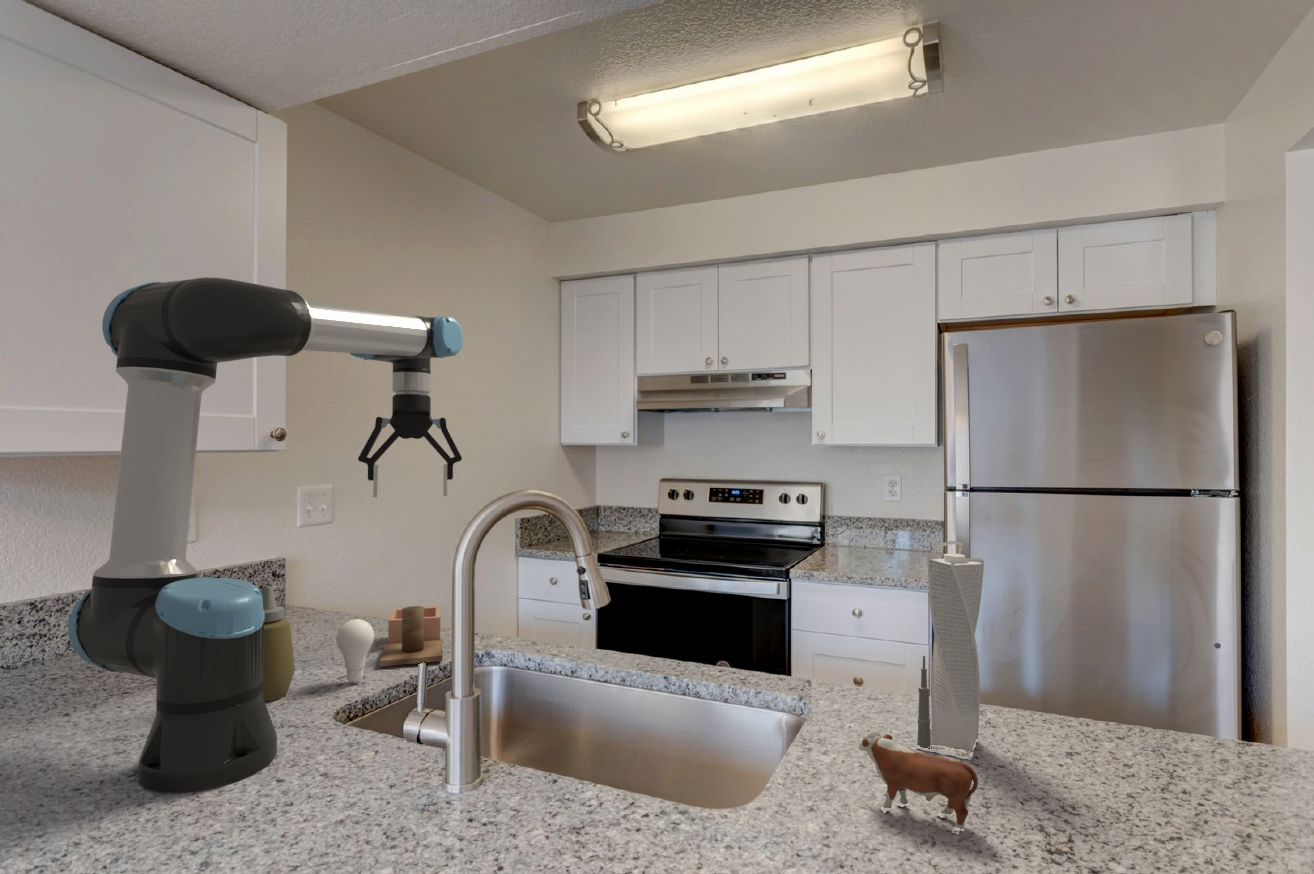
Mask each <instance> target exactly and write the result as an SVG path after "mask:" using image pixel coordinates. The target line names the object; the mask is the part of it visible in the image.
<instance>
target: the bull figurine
mask: <svg viewBox="0 0 1314 874" xmlns="http://www.w3.org/2000/svg"><path fill="white" fill-rule="evenodd" d="M858 747H859V750H861V751H862V752H866V753H867V754H868V756H869V758H870V760H871V761H872V762H873V763H874V764H875V765H874V766H875V769H876V771H877V774H878V777H879V778H881V780H882V782H883V783H884V784H885V785H886V789H887V791H886V792H885V798H886V799H885V801H884V803H883V805H882V806H883V807H884V808H892V809H893V807H892V803H893V801H894V799H896V795H897V793H899V795H900V799H899V801H900V802H901V803H902V804H907V803H908V802H909V800H908V799H907V793H906V792H907V790H908V791H910V792H912V793H914V794H917V795H919V796H923V797H924V798H925V800H926V802H927V801H928V802H931V801H932V800H933V799H934V798H935V796H938V795H940V796H943V797H945V798H946V799H947V803H946V805H945V807H944V808H943V809H941V810H940V811H941V813H945V814H949V815H950V814H952V815H953V814H954V813H955V817H956V819H955V820H956V821H955V823H954V825H955V826H956V827H957V828H960V829H964V830H965V822H966V819H967V816H968V815H969V810H968V807H969V805H970V801H971V797H972V795H973V793H975V791H976V790H977V788H978V785H979V780H978V775H977V773H976V772H975V770H974V769H973V768H972V767H971V765H970V764H967V763H965V762H961V761H957V760H952V759H951V760H950V759H949V758H944V757H941V756H940V757H939V756H935V755H930V754H925V753H923V752H919V751H916V750H914V749H912V748H909V747H907V746H904V745H900V744H898V743H896V742H895V741H893V736H892V735H890V734H884V735H883V736H882V735H881V733H880V732H879V731H878V730H877V729H873V730H870V731H869V732H867V733H866V734H865V735H863V739H862V740H861V742H860V743H859V746H858ZM972 783H973V784H972ZM953 812H954V813H953Z"/></svg>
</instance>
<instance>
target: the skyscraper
mask: <svg viewBox="0 0 1314 874" xmlns="http://www.w3.org/2000/svg"><path fill="white" fill-rule="evenodd" d="M949 545H959V547H958V551H957V553H944V554H943V558H932V557H933V555H934V554H935V553H936V551H937V550H939V549H940V548H942V547H943V548H944V547H945V546H949ZM963 548H964V543H963V542H962V541H959V540H951V541H950V540H949V541H944V542H942V543H939V544H937V545H935V547H934V548H933V549H932V550H931V552H930V553H929V554H928V557H927V559H926V561H927V577H928V578H927V580H928V593H929V604H930V605H929V606H930V608H929V609H930V615H931V623H932V629H933V634H934V635H933V636H934V638H933V647H932V658H931V659H932V660H931V680H930V681H931V683H930V684H931V685H930V686H931V688H930V687H929V686H928V676H927V674H928V672H927V671H928V668H926V656H925V655H922V667H920V671H921V672H920V673H921V675H920V679H921V681H920V685H919V686H918V688H917V689H918V716H917V720H916V721H917V740H916V741H917V743H916V745H919V746H920V747H923V748H928V747H929V748H928V749H930V745H940V746H941V745H942V746H946V747H950V748H954V749H963V750H966V751H970V752H973V751H972V749H973V746H974V744H975V741H976V739H978V740H979V727H980V726H979V723H980V709H981V708H980V704H981V703H980V701H981V698H980V697H981V690H980V689H981V687H980V685H981V684H980V666H979V665H980V664H979V657H978V656H979V655H978V647H977V641H976V635H975V634H976V629H977V625H978V620H979V615H980V610H981V609H980V608H981V601H982V593H983V592H982V591H983V583H984V580H983V579H984V569H985V567H984V566H985V561H984V559H982V558H980V557H978V558H977V557H969V558H967V557H966V555H965V554H962V551H963ZM930 691H931V693H930ZM930 695H931V697H930ZM930 700H931V702H930ZM930 704H931V706H930ZM930 707H931V708H930ZM930 709H931V715H930ZM930 716H931V717H930ZM931 740H932V741H931ZM931 749H932V746H931ZM933 749H934V747H933ZM936 749H939V748H936ZM940 749H941V748H940Z"/></svg>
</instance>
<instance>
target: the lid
mask: <svg viewBox="0 0 1314 874" xmlns="http://www.w3.org/2000/svg"><path fill="white" fill-rule="evenodd" d="M401 609H402V643H395V644H388V643H386V644H384V646H383V649H382V651H381V656H380V658H379V667H386V666H387V667H388V666H398V665H411V664H421V663H420V662H425V663H431V662H432V663H435V662H437V663H438V662H443V650H444V649H443V643H444V641H443V639H441V640H435V641H424V606H422V605H421V606H420V605H417V606H416V605H415V606H413V605H412V606H407V607H404V608H401Z"/></svg>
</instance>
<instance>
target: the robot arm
mask: <svg viewBox="0 0 1314 874" xmlns="http://www.w3.org/2000/svg"><path fill="white" fill-rule="evenodd" d="M101 323H102V325H101V328H102V335H103V338H104V341H105V344H107V345H108V346H109V347H110V348H111V352H112V353H113V354H114V355H115V356H116V367H115V372H116V374H117V375H119V376H120V378H121V379H123V381H125V383H126V385H127V393H126V402H125V403H126V404H125V413H124V420H123V421H124V422H123V430H122V438H121V439H122V441H121V448H120V457H119V458H120V459H119V466H118V473H117V474H118V476H117V477H118V478H117V483H116V484H117V486H116V492H115V504H114V512H113V521H112V531H111V540H110V548H109V558H108V560H107V561H106V562H105V563H104V564H102V565H101V566H99V568H97V569H96V570H94V572H93V574H92V582H91V589H89V590H88V591H86V592H85V593H84V594H83V597H82V598H81V599H80V600H77V601H76V603H75V605H74V606H73V608H72V610H71V612H70V615H69V618H68V622H67V635H68V639H69V640H68V641H69V642H70V645H71V647H72V649H73V650H74V652H75V653H76V654H77V656H79V657H80V658H81V659H82V660H83V661H85V662H87V663H89V664H91V665H93V666H96V667H98V668H100V669H102V670H105V671H108V672H112V673H120V674H122V673H125V674H131V675H136V676H142V677H148V678H154V679H156V681H155V682H156V684H155V685H156V689H155V690H156V691H155V692H156V693H155V694H156V698H155V700H156V703H155V704H156V705H155V707H156V708H155V709H156V710H155V716H154V720H153V722H152V725H151V728H150V730H149V733H148V735H147V739H146V741H145V743H144V746H143V748H142V751H141V753H140V754H141V755H140V756H139V757H140V758H139V759H138V763H137V764H138V767H137V769H138V770H137V783H138V784H139V786H140V787H142V788H143V789H145V790H148V791H152V792H156V793H169V794H170V793H188V792H195V791H200V790H201V791H202V790H207V789H211V788H215V787H219V786H223V785H227V784H230V783H232V782H236V781H238V780H239V781H240V780H241V779H243V778H246V777H248V776H250V775H252V774H254V773H256V772H259V771H260V770H261V769H264V768H265V767H266V766H268V765H269V764H270V763H271V762H272V761H273V760H274V759H275V757H276V756H277V753H278V735H277V731H276V728H275V726H274V723H273V721H272V717H271V716H270V713H269V710H268V708H267V707H268V706H267V705H266V701H264V699H263V692H262V686H263V644H264V618H265V613H264V610H263V600H262V594H263V593H262V592H261V590H260V589H259V587H257V586H256V585H255V584H253V583H251V582H249V581H246V580H242V579H238V578H237V579H236V578H231V577H220V578H218V577H217V578H216V577H210V576H209V577H197V573H198V570H197V569H196V568H195V566H193V565H192V564H191V563H190V562H189V561H188V559H187V549H188V537H189V527H190V526H189V525H190V519H191V518H190V517H191V505H192V496H193V485H194V475H195V467H196V466H195V465H196V455H197V447H198V434H199V424H200V414H201V404H202V395H203V392H204V391H205V390H207V389H208V388H210V387H211V386H212V385H214V384H216V379H217V369H218V364H219V363H227V362H233V361H234V362H235V361H240V360H245V359H253V358H262V357H264V358H265V357H275V356H278V357H279V356H282V357H292V356H296V355H298V354H299V353H302V351H310V352H312V351H314V352H329V353H343V354H344V353H346V354H350V355H351V356H353V357H355V358H360V359H363V360H365V361H367V360H371V361H379V362H384V363H391V364H392V392H393V393H395V394H393V396H392V399H391V401H392V405H391V407H392V409H391V412H392V413H391V414H392V415H391V417H390V418H386V417H382V416H377V417H376V418H375V423H374V428H373V430H372V432H371V434H370V435H369V437H368V439H367V441H366V443H365V444H364V445H363V446H364V447H363V448H362V451H361V452H360V454H359V455H358V457H357V458H358V459H357V460H358V461H359V462H360V463H364V464H366V465H367V479H368V481H373V491H372V492H373V496H372V497H373V498H379V496H380V495H379V494H380V493H379V491H380V489H379V487H380V485H379V484H380V483H379V482H380V481H379V480H380V479H379V478H380V475H379V474H380V472H379V471H380V464H376V462H378V460H380V458H381V457H382V455H384V454H385V452H387V450H388V449H389V448H390V447H391V446H392V445H393V444H394V443H395V442H396V441H397V440H398V438H401V439H403V440H408V439H416V440H419V439H422V438H425V440H426V441H427V442H428V443H429V444H430V446H431V447H433V449H435V451H436V452H437V453H438V455H440V457H442V459H443V460H444V461H445V462H446V464H443V474H442V475H443V481H442V482H443V484H442V485H443V487H442V488H443V489H442V490H443V491H442V492H443V497H447V496H448V481H449V480H450V481H452V480H453V478H454V464H456V463H458V462H460V461H462V459H463V457H462V455H461V454H460V451H459V450H458V448H457V446H456V443H455V442H454V440H453V438H452V436H451V434H450V432H449V430H448V427H447V419H446V418H445V417H441V418H433V419H432V415H431V413H432V412H431V405H432V403H431V399H432V398H431V396H430V395H429V394H430V393H431V391H432V390H431V389H432V387H431V385H432V384H431V383H432V379H431V378H432V374H431V371H432V370H431V359H437V358H440V359H444V358H448V357H450V358H451V357H455V356H456V355H458V354H459V352H460V351H461V349H462V348H463V343H464V337H463V335H464V333H463V330H462V327H461V325H460V323H459V322H458V320H456V319H455V318H453V317H452V316H440V315H437V316H431V317H429V316H428V317H427V316H419V315H413V314H407V313H401V312H400V313H399V312H395V311H394V312H392V311H386V310H380V309H379V310H378V309H371V308H365V307H359V306H358V307H357V306H352V305H351V306H350V305H345V304H338V303H337V304H336V303H331V302H324V301H317V300H311V299H309V300H308V299H305V298H304V297H303V296H302V295H301V294H300V293H299V292H297V291H294V290H291V289H284V288H279V287H272V286H267V285H263V284H257V283H253V282H248V281H241V280H236V279H229V278H222V277H205V276H204V277H198V278H196V277H195V278H192V279H191V278H190V279H182V280H175V281H174V280H173V281H166V282H163V281H155V282H154V281H152V282H146V283H145V284H140V285H137V286H135V287H130V288H128V289H126V290H124V291H123V292H121V293H119V294H117V295H116V296H115V297H114V298H113V299H112V300H111V301H110V302H109V304H108V305H107V307H106V308H105V312H104V314H103V317H102V322H101ZM388 425H390V426H391V427H392V429H393V430H394V431H393V432H392V434H391V435H390V436H389V437H388V438H387V439H386V440H385V441H384V442H383V444H382V445H380V447H379V448H378V449H377V450H376V451H375V452H374V453H373V455H372V456H371V457H368V456H369V454H370V452H371V451H372V449H373V447H374V445H375V443H376V442H377V439H378V437H380V434H381V432H382V429H385V428H386V427H387V426H388ZM433 425H435V426H436V428H437V429H440V431H441V434H442V435H443V436H444V438H445V440H446V443H447V445H448V446H449V449H450V450H451V452H452V454H453V457H451V456H450V455H449V454H448V453H447V452H446V451H445V449H444V448H443V447H442V446H441V445H440V444H439V443H438V441H436V439H435V438H434V437H433V436H432V434H430V432H429V430H430V429H431V427H432V426H433Z"/></svg>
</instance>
